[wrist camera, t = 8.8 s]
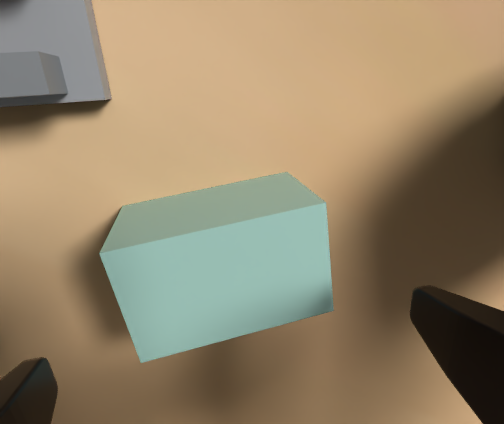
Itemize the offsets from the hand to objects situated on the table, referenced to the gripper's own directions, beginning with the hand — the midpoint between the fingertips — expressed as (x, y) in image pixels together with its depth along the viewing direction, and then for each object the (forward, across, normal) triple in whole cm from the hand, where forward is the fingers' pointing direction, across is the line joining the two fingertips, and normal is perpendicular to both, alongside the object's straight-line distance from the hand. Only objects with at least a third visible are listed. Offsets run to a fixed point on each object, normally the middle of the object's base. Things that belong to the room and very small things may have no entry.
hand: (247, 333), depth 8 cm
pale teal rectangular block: (+6, 0, 0) cm, 6 cm away
